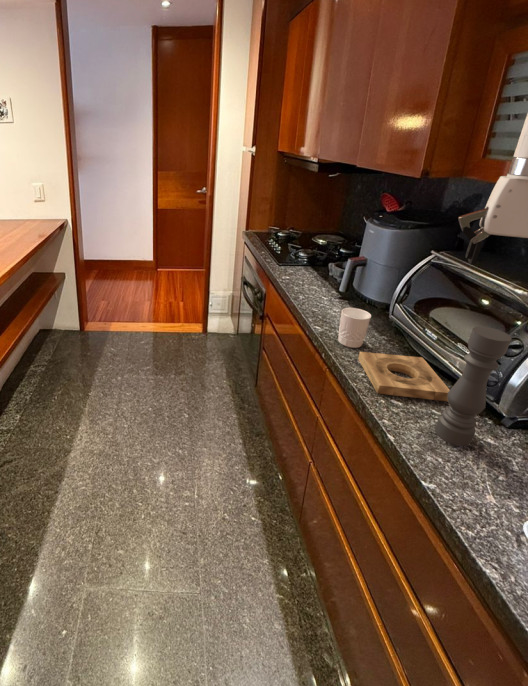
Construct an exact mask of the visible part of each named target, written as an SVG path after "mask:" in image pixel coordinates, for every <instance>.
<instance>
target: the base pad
mask: <svg viewBox="0 0 528 686" xmlns="http://www.w3.org/2000/svg"><path fill="white" fill-rule="evenodd" d="M357 360H358V361H359V363H360V365H361V367H362V369H363V370H364V372H365V374H366V376H367V378H368V379H369V381H370V383H371V385H372V387H373V389H374V390H375V392H376V394H378V395H387V396H397V397H406V398H414V399H421V400H430V401H431V400H432V401H438V402H439V401H440V402H447V403H448V399H447V394H448V392H449V391H450V390H451V389H450V388H449V387H448V386H447V385H446V383H445V382H444V381H443V380H442V379H441V377H440V376H439V375H438V374H437V373H436V372H435V371H434V369H433V368H432V367H431V366H430V364H429V363H428V362H427V361H426V359H424V358H423V357H422V356H410V355H399V354H390V353H389V354H388V353H379V352H368V351H359V354H358V358H357ZM393 372H399V373H401V374H405V375H406V376H409V377H410V378H407V377H402V376H398V375H397V374H394V373H393Z"/></svg>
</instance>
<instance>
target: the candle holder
mask: <svg viewBox="0 0 528 686" xmlns="http://www.w3.org/2000/svg"><path fill="white" fill-rule="evenodd" d="M511 341H512V336H511V335H510V334H508V333H507V332H506V331H505V332H504V331H502V330H500V329H498V328H497V329H496V328H493V327H488V326H474V327H472V330H471V332H470V335H469V337H468V340H467V348H468V351H469V353H467V354H465V355H464V356H463V361H464V362H465V366H464V369H463V372H462V374H461V375H460V377H459V378H458V379H457V381H456V382H455V383H454V385H452V387H451V388H450V389H449V390H450V391H449V392H448V394H447V399H448V402H447V403H448V408H445V409H444V410H442V414H441V415H439V416H438V418H437V422H436V424H435V427H434V432H435V434H436V435H437V437H439V438H440V439H441V440H442V441H444V442H446V443H447V444H450V445H453V446H456V447H462V448H464V447H469V446H470V445H471V443H472V441H473V438H474V437H475V434H476V427H477V421H476V419H475V417H476V415H479V414H481V413H482V412H483V411H484V410H485V409H486V405H487V385H488V384H487V383H488V380H489V379H490V375H491V374H492V372H493V371H496V370H497V369H498V368H499V363H498V362H497V361H498V360H499V359H501V358H502V357H503V356H505V354H507V352H508V348H509V347H510V344H511Z"/></svg>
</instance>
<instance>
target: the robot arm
mask: <svg viewBox="0 0 528 686" xmlns="http://www.w3.org/2000/svg"><path fill="white" fill-rule="evenodd" d="M457 220H458V223H459V227H460V229H461V231H462V233H463V234H464V235H465V237H467V238H468V240H469V243H468V246H467V250H466V252H465V259H467V262H468V263H469V264H470V265H477V262H478V258H479V255H480V253H481V249H482V246H483V245H482V243H481V242H482V241H483V240H485V239H486V238H488V237H489V236H491V235H493V236H503V237H512V238H513V237H514V238H522V239H523V238H524V239H528V113H527V114H526V116H525V120H524V123H523V126H522V129H521V133H520V135H519V138H518V141H517V145H516V147H515V150H514V154H513V156H512V159H511V162H510V165H509V168H508V171H507V174H506V175H501V176H499V178H498V179H497V181H496V183H495V185H494V187H493V189H492V190H491V193H490V196H489V198H488V200H487V202H486V205H485V206H484V208H482V209H479V210H475V211H472V212H468V213H466V214H463V215H460V216H458V218H457ZM476 220H479V227H480V228H478V229H477V230H475V231H474V230H473V229H472V228H471V224H470V223H471V222H473V221H476Z"/></svg>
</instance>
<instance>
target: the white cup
mask: <svg viewBox="0 0 528 686" xmlns="http://www.w3.org/2000/svg"><path fill="white" fill-rule="evenodd" d="M371 319H372V314H371V313H370V312H369V311H366V310H364V309H361V308H358V307H344V308H342V309H341V313H340V320H339V327H338V335H337V336H338V337H337V342H339V344H341V345H342V346H344V347H347V348H353V349H354V348H355V349H357V348H361V347H362V346H363V343H364V340H365V337H366V335H367V332H368V329H369V326H370V323H371Z"/></svg>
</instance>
